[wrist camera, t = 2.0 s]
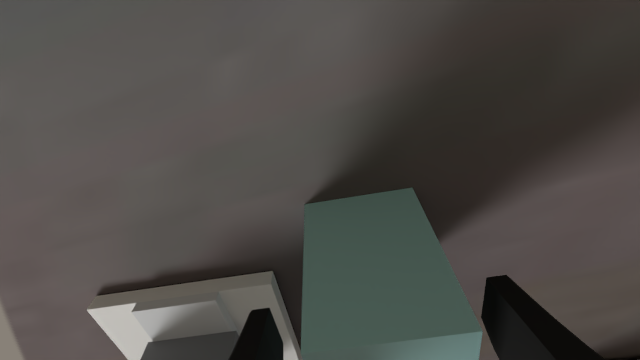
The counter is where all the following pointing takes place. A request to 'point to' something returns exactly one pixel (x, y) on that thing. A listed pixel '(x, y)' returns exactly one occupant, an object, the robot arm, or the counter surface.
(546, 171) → the counter surface
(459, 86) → the counter surface
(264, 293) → the rail plate
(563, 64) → the counter surface
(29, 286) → the counter surface
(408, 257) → the block
